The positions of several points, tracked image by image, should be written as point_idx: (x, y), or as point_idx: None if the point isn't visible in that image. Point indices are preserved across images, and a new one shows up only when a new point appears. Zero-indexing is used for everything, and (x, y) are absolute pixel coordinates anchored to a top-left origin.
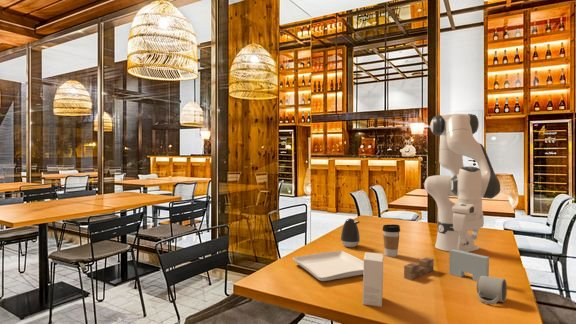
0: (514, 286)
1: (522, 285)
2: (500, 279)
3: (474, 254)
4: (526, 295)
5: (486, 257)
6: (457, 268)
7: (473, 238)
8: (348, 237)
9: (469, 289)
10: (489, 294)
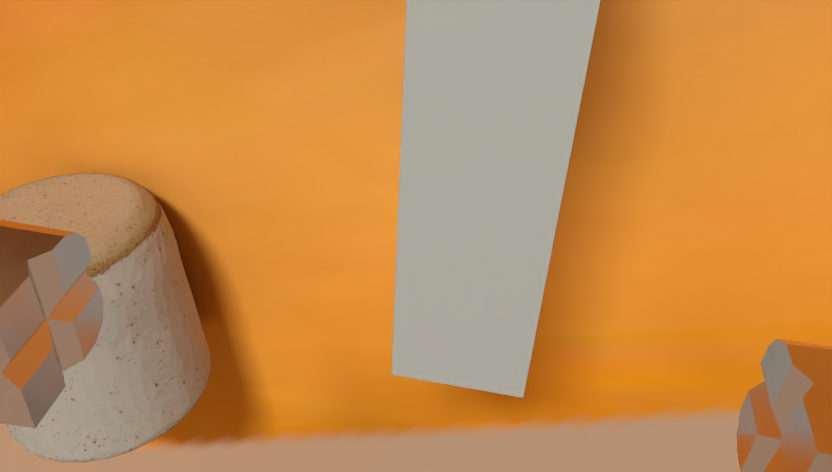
0: (596, 351)
1: (680, 396)
2: (36, 443)
3: (499, 209)
4: (431, 418)
5: (454, 374)
6: None
7: (767, 406)
8: None
9: (150, 65)
10: None
